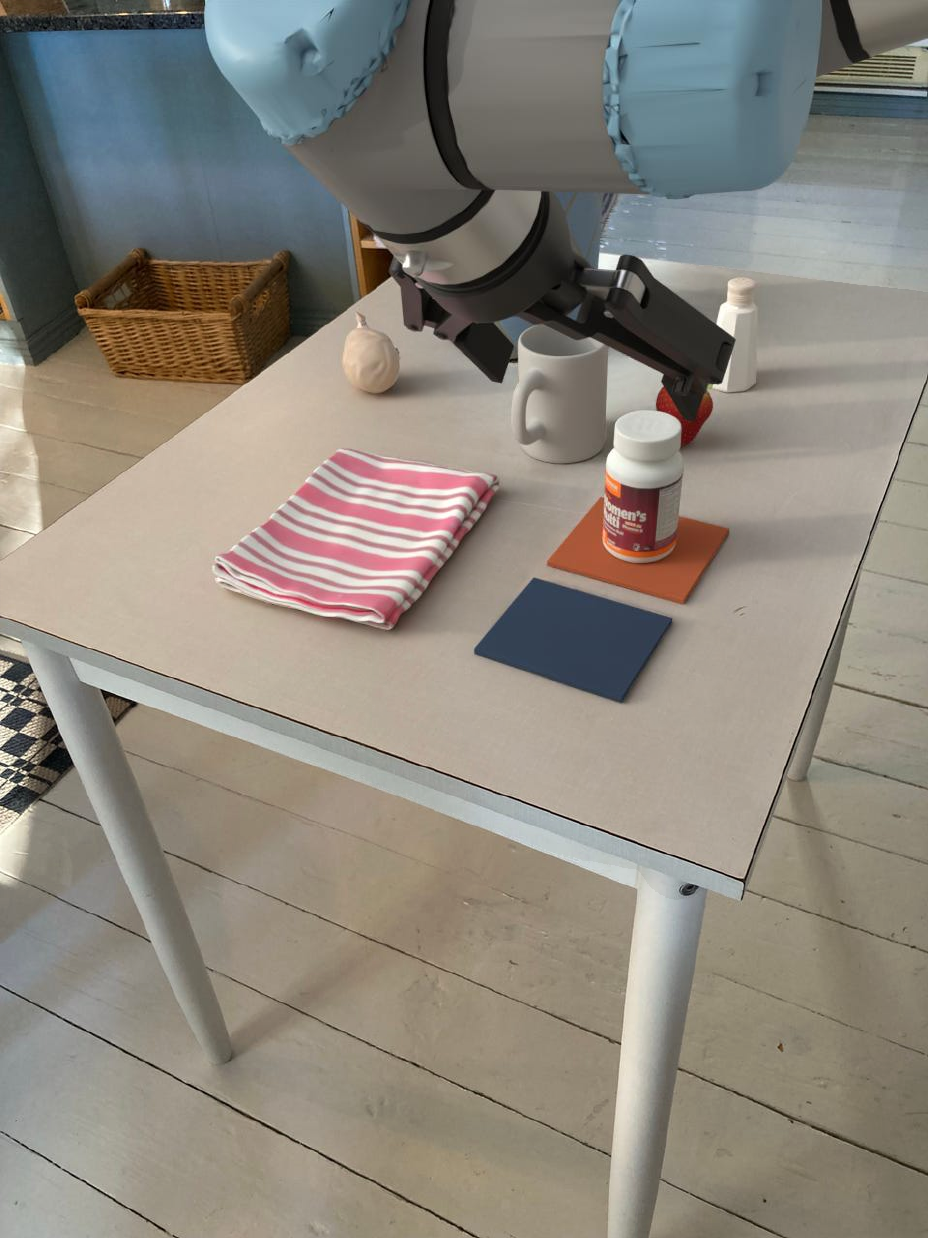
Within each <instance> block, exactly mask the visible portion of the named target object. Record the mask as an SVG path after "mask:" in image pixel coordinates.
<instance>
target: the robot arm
mask: <svg viewBox="0 0 928 1238" xmlns="http://www.w3.org/2000/svg"><path fill="white" fill-rule="evenodd" d="M204 2H205V3H204V4H205V5H204V11H203V12H204V13H203V15H204V17H203V19H204V21H203V22H204V23H203V24H204V31H205V32H204V33H205V37H206V42H207V45H208V48H209V51H210V54H211V57H212V59H213V60H214V62H215V64H216V66H217V67H218V69H219V71H220V72H221V74H222V75H223V76H224V78H225V79H226V80H227V82H228V83H229V84H230V85H231V86H232V88H234V90H235V91H236V92H237V93H238V95H239V96H240V98H242V100H243V101H244V102H245V103H246V104H247V106H249V108H250V109H251V110H252V111H253V113H254V114H255V115H256V116H257V118H258V119H259V122H260V124H261V126H262V128H263V131H265V132H266V133H267V135H268V136H269V137H270V138H272V139H273V140H275V141H276V142H277V143H279V144H281V145H282V146H283V147H284V148H285V149H286V150H287V151H288V152H289V153H290V154H291V155H292V156H293V157H294V158H295V159H296V160H297V161H298V162H299V163H300V165H302V166H303V167H304V168H305V169H306V170H307V171H308V172H309V173H310V174H311V175H312V176H313V177H314V178H315V179H316V180H317V181H318V182H319V183H320V184H321V185H322V186H323V187H325V189H326V190H327V191H328V192H329V193H330V194H331V195H332V196H333V197H334V198H335V199H336V200H337V201H338V202H339V203H341V205H343V207H344V208H345V209H347V210H348V212H350V213H351V215H352V216H353V217H354V218H356V220H358V221H359V222H360V223H361V224H363V225H364V227H366V229H368V230H369V231H370V232H371V233H372V234H373V235H374V237H376V238H377V240H378V241H379V242H380V243H381V244H382V245H383V246H384V247H385V248H386V249H387V250H388V251H389V252H390V254H392V255H393V257H392V260H391V263H390V266H389V269H388V273H389V275H390V276H391V278H392V279H393V280H394V281H395V283H397V284H398V286H399V288H400V296H401V297H400V298H401V307H402V319H403V326H404V327H405V328H406V329H408V330H409V331H412V332H417V333H418V332H419V333H422V332H423V331H424V327H428V328H432V329H433V332H432V334H433V335H434V336H435V337H437V338H438V339H439V340H441V341H450V342H451V343H452V344H453V345H454V346H455V347H456V348H457V349H458V350H459V351H460V352H461V353H462V354H463V355H464V356H465V357H466V358H467V359H469V361H470V362H471V363H473V364H474V365H475V366H476V367H477V368H478V369H479V370H480V371H481V372H482V374H484V375H485V376H486V377H487V378H488V379H489V380H490V381H491V382H493V383H496V384H503V382H504V379H505V375H506V373H507V370H508V366H509V363H510V360H511V359H510V357H511V354H512V351H513V348H514V345H513V344H512V343H511V342H510V341H509V339H508V338H507V337H506V336H505V335H504V334H503V333H502V332H501V330H500V329H499V328H498V327H497V326H496V325H495V324H494V323H493V322H497V321H501V320H505V319H508V318H510V317H513V316H514V317H519V318H521V319H523V320H525V321H527V322H529V323H531V324H533V325H540V324H544V325H546V326H548V327H550V328H552V329H554V330H556V331H558V332H560V333H562V334H564V335H566V336H568V337H570V338H572V339H574V340H582V339H585V338H589V337H591V338H593V339H595V340H597V341H599V342H601V343H603V344H605V345H607V346H608V348H611V349H613V350H615V351H617V352H619V353H620V354H623V355H625V356H627V357H629V358H631V359H632V360H635V361H637V362H638V363H641V364H643V365H645V366H646V367H648V368H651V369H652V370H655V372H658V373H660V374H662V378H661V380H660V382H661V384H662V387H664V388H665V389H666V391H667V393H668V394H669V396H670V398H671V399H672V401H673V403H674V404H675V406H676V408H677V409H678V411H679V413H680V414H681V416H682V418H683V419H684V420H689V421H694V422H695V420H696V417H697V414H698V411H699V408H700V405H701V402H702V399H703V396H704V394H705V393H706V390H707V387H708V384H717V385H718V384H721V383H722V382H723V379H724V376H725V372H726V369H727V366H728V363H729V360H730V357H731V354H732V351H733V348H734V344H735V341H736V339H735V338H734V337H733V336H731V335H730V334H729V333H727V332H726V331H725V330H723V329H722V328H721V327H719V326H718V325H717V323H715V322H714V321H713V320H711V319H710V318H709V317H707V316H706V315H705V314H704V313H702V312H701V311H700V310H698V309H697V308H696V307H694V306H693V305H691V304H690V303H689V302H688V301H686V300H685V299H683V298H682V297H681V296H680V295H678V294H677V293H675V292H674V291H673V290H671V289H670V288H669V287H667V286H666V285H665V284H663V283H662V282H660V281H659V280H658V279H657V278H655V276H654V275H653V274H652V272H651V271H650V269H649V268H648V267H647V265H646V264H645V262H644V261H643V260H642V259H641V258H639V257H638V256H635V255H633V254H632V255H631V254H627V253H626V254H621V255H620V256H619V258H618V261H617V265H616V267H615V269H606V268H605V269H604V268H603V269H602V268H598V269H595V268H593V267H591V265H590V263H589V262H588V261H587V260H586V259H585V258H583V257H582V256H580V255H579V254H577V253H576V252H575V251H574V250H573V249H572V245H571V240H570V234H569V228H568V223H567V219H566V215H565V212H564V209H563V207H562V205H561V203H560V201H559V200H558V198H557V196H556V195H555V193H554V192H585V193H603V194H620V195H621V194H623V195H651V197H657V198H666V199H667V200H683V199H690V197H693V196H696V195H707V194H708V195H709V194H721V193H723V194H724V193H737V192H753V191H758V190H762V189H764V188H767V187H769V186H771V185H773V184H774V183H775V182H776V181H778V180H779V179H780V178H781V177H782V176H783V175H784V174H785V173H786V172H787V171H788V169H789V168H790V166H791V165H792V163H793V162H794V159H796V156H797V154H798V150H799V146H800V142H801V137H802V133H803V132H804V131H805V129H806V126H807V122H808V119H809V116H810V111H811V106H812V102H813V97H814V90H815V85H816V79H817V78H819V77H821V76H825V75H827V74H831V73H835V72H837V71H840V70H842V69H845V68H847V67H850V66H853V65H856V64H859V63H860V62H861V63H862V62H863V61H866V60H869V59H872V58H874V57H875V56H878V55H881V54H885V53H887V52H890V51H894V50H897V49H900V48H904V47H906V46H909V45H912V44H915V43H918V42H921V41H925V40H928V0H205V1H204ZM580 304H581V306H580V309H579V312H578V315H577V319H576V321H575V320H573V319H571V318H569V317H567V315H569V314H570V313H571V312H572V311H573V310H574V309H575V308H577V307H578V306H579V305H580ZM707 391H708V390H707Z"/></svg>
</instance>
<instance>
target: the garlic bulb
mask: <svg viewBox="0 0 928 1238" xmlns="http://www.w3.org/2000/svg"><path fill="white" fill-rule="evenodd" d="M354 315H355V319H356V321H357V326H356V327H355V328H353V329H352V330H351V331H350V332H349V333H348V334H347V336H346V338H345V341H344V348H343V353H342V358H341V364H342V368H343V371H344V373H345V375H346V377H347V379H348V381H349V382H350V383H351V384H352V385H353V386H354V387H355V388H357V389H359V390H362V391H365V392H368V393H370V394H371V393H372V394H381V393H383V392H386V391H388V390H389V389H390V388H391V387H392V386H393V385H394V384H395V383H396V382H397V380H398V378H399V375H400V370H401V369H400V361H401V356H400V351H399V349H398V347H395V346H394V343H393V341H392V340H391V338H390V336H389V335H388V334H386V333H385V332H382V331H380V330H377V329H373V328H370V327H369V324H367V322H366V316H365V315H363V314H361V313H360V312H359V311H357V310H354Z"/></svg>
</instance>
